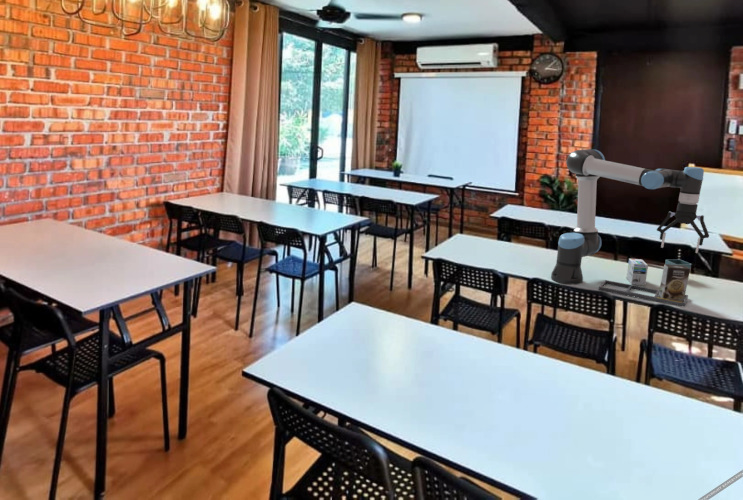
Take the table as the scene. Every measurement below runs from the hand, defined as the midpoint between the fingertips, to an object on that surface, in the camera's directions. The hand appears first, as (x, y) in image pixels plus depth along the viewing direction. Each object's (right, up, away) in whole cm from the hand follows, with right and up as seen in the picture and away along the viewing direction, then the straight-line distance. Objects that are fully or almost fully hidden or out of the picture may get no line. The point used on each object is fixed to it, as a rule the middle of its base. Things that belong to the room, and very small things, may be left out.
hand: (679, 249), depth 237 cm
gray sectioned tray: (-10, -21, +12) cm, 26 cm away
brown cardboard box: (0, -23, +6) cm, 24 cm away
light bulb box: (-4, -17, +31) cm, 35 cm away
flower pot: (+20, -15, +38) cm, 46 cm away
